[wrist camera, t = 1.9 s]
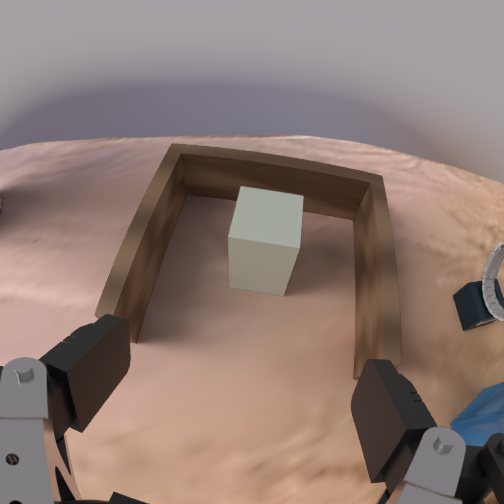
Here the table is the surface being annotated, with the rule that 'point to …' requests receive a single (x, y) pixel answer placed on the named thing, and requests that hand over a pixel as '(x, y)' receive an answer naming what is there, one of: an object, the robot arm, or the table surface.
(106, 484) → the table surface
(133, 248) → the walnut u-shaped frame
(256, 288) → the sage block
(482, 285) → the watch
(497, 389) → the perfume bottle
